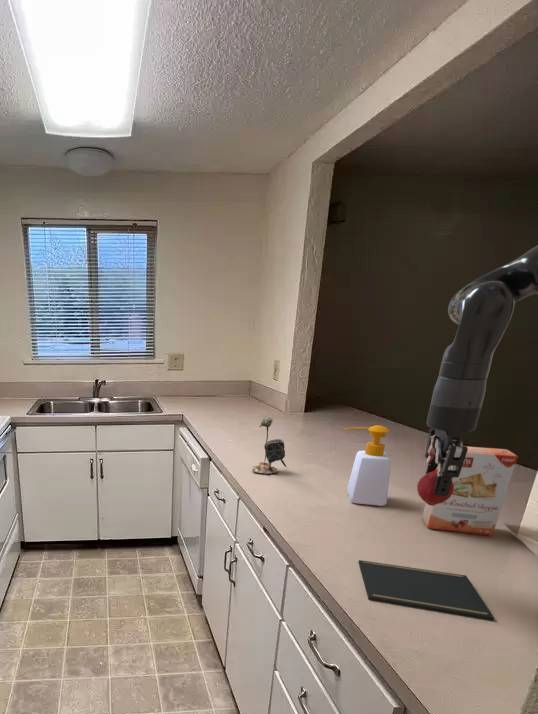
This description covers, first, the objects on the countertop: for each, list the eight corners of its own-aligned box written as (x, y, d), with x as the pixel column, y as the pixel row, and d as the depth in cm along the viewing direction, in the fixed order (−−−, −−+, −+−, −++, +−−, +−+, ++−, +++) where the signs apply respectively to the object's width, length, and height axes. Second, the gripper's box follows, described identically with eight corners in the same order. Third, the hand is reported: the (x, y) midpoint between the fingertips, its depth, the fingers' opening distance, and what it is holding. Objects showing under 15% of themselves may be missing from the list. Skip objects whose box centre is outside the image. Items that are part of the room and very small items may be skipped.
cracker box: (427, 529, 109) (447, 450, 102) (420, 519, 114) (439, 443, 107) (494, 537, 105) (519, 455, 98) (483, 526, 110) (507, 447, 103)
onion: (451, 513, 82) (461, 473, 79) (415, 508, 84) (424, 469, 81) (445, 502, 86) (455, 464, 84) (412, 497, 89) (420, 460, 86)
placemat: (465, 577, 89) (466, 574, 89) (493, 620, 77) (494, 617, 77) (358, 562, 95) (358, 559, 95) (368, 599, 83) (369, 596, 83)
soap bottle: (330, 490, 134) (341, 420, 126) (380, 495, 130) (394, 422, 122) (333, 502, 125) (345, 427, 118) (387, 508, 121) (403, 431, 114)
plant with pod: (283, 477, 145) (290, 419, 138) (249, 472, 150) (254, 416, 143) (286, 470, 152) (293, 414, 145) (254, 465, 156) (259, 411, 149)
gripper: (497, 411, 71) (471, 505, 76) (466, 396, 83) (446, 478, 89) (443, 409, 73) (422, 500, 79) (421, 394, 86) (404, 474, 91)
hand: (435, 488), depth 84 cm, fingers closed on onion, 6 cm apart
